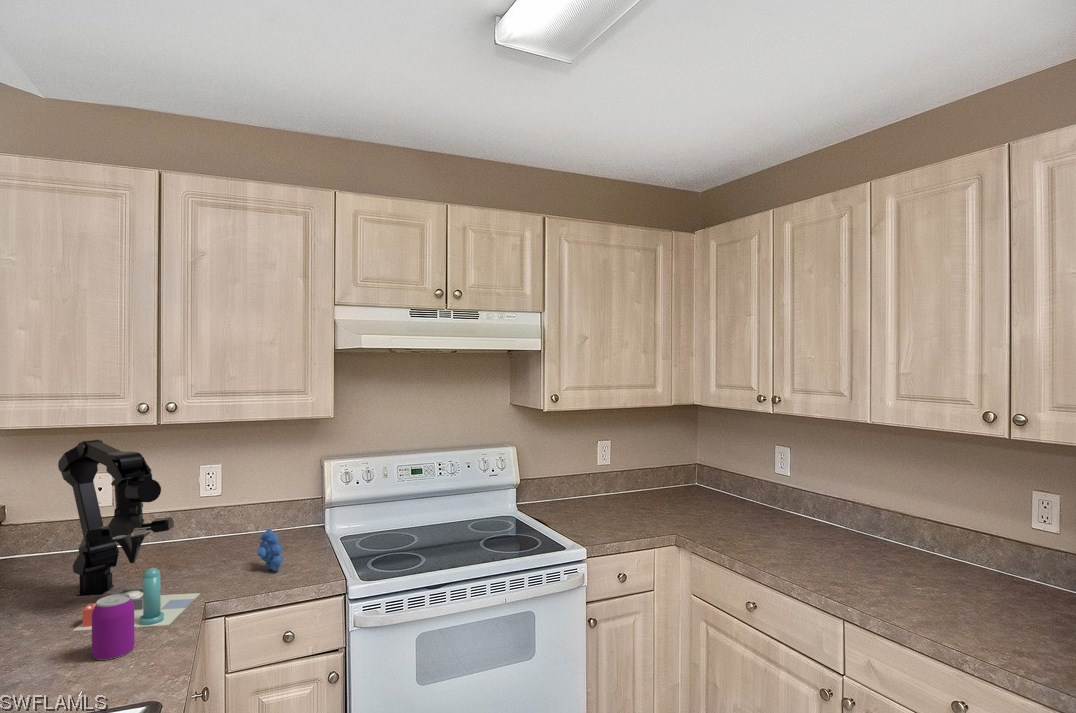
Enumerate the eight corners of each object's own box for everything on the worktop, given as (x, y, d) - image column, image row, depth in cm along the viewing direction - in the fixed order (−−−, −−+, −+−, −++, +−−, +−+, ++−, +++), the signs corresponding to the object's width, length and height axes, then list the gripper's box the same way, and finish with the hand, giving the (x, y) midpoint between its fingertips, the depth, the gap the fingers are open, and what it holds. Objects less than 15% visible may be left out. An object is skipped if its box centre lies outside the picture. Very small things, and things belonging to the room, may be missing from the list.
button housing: (103, 611, 158) (103, 601, 158) (121, 598, 167) (121, 588, 167) (141, 609, 159) (141, 599, 159) (157, 596, 168) (157, 586, 168)
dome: (113, 606, 160) (113, 598, 160) (124, 597, 165) (124, 590, 165) (137, 604, 161) (137, 597, 161) (147, 596, 166) (147, 588, 166)
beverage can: (142, 645, 141) (141, 592, 140) (120, 662, 133) (120, 606, 133) (106, 646, 140) (106, 592, 140) (83, 663, 133) (83, 606, 133)
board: (72, 632, 147) (72, 630, 147) (115, 599, 167) (115, 597, 167) (168, 626, 150) (168, 624, 150) (200, 594, 170) (200, 593, 170)
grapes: (248, 568, 190) (248, 529, 190) (270, 563, 195) (270, 524, 195) (265, 578, 183) (265, 537, 182) (288, 572, 188) (288, 532, 187)
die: (82, 627, 149) (82, 608, 149) (88, 620, 153) (88, 602, 153) (102, 624, 150) (102, 606, 150) (107, 618, 154) (107, 600, 154)
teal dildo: (135, 625, 150) (135, 572, 150) (145, 617, 155) (145, 565, 155) (158, 624, 150) (158, 571, 150) (167, 615, 155) (167, 564, 155)
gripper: (73, 512, 152) (77, 577, 152) (160, 501, 158) (164, 564, 157) (91, 505, 163) (95, 566, 162) (172, 495, 168) (176, 554, 168)
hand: (132, 562), depth 162 cm, fingers closed
